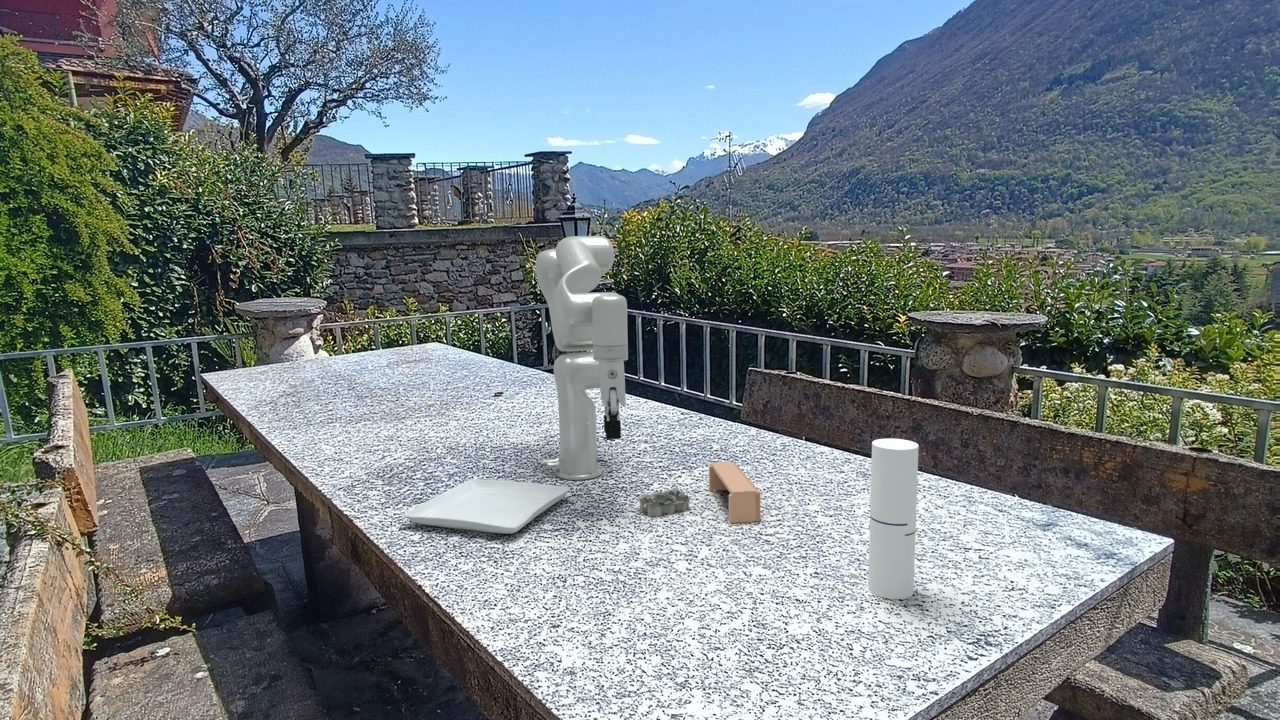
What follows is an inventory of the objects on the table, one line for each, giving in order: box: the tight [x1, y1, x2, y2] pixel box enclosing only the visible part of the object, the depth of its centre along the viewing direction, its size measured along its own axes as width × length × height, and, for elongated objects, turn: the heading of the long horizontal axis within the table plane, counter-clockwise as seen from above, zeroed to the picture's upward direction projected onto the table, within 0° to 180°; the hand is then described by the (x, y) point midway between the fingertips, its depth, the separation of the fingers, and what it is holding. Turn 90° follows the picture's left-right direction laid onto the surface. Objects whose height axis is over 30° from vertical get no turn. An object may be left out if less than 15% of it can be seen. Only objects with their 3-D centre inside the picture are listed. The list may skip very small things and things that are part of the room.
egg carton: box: [637, 487, 693, 518], centre depth 163 cm, size 11×8×4 cm
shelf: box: [708, 461, 761, 524], centre depth 165 cm, size 6×22×7 cm, turn 6°
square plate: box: [402, 478, 572, 535], centre depth 163 cm, size 27×27×4 cm
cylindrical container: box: [867, 438, 920, 600], centre depth 121 cm, size 7×7×25 cm
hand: (612, 434), depth 160 cm, fingers open, 4 cm apart
